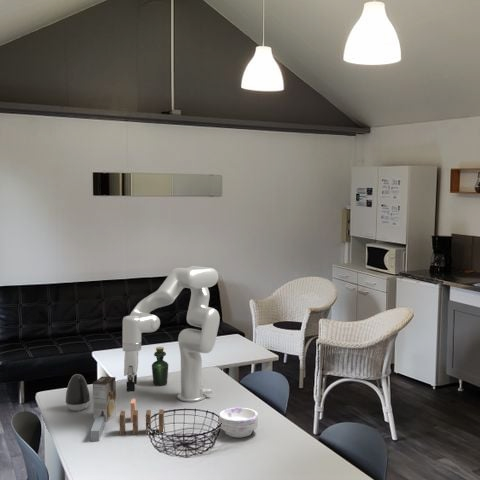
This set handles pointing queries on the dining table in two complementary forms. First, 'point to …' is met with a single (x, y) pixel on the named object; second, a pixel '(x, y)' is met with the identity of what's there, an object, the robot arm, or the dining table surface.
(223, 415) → the white floral bowl
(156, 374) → the potion bottle
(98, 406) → the coffee box
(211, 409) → the dining table surface
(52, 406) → the dining table surface
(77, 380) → the dark grey egg shape
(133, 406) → the domino
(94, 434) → the end block
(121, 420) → the domino
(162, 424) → the domino
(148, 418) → the domino
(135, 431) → the domino
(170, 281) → the robot arm
